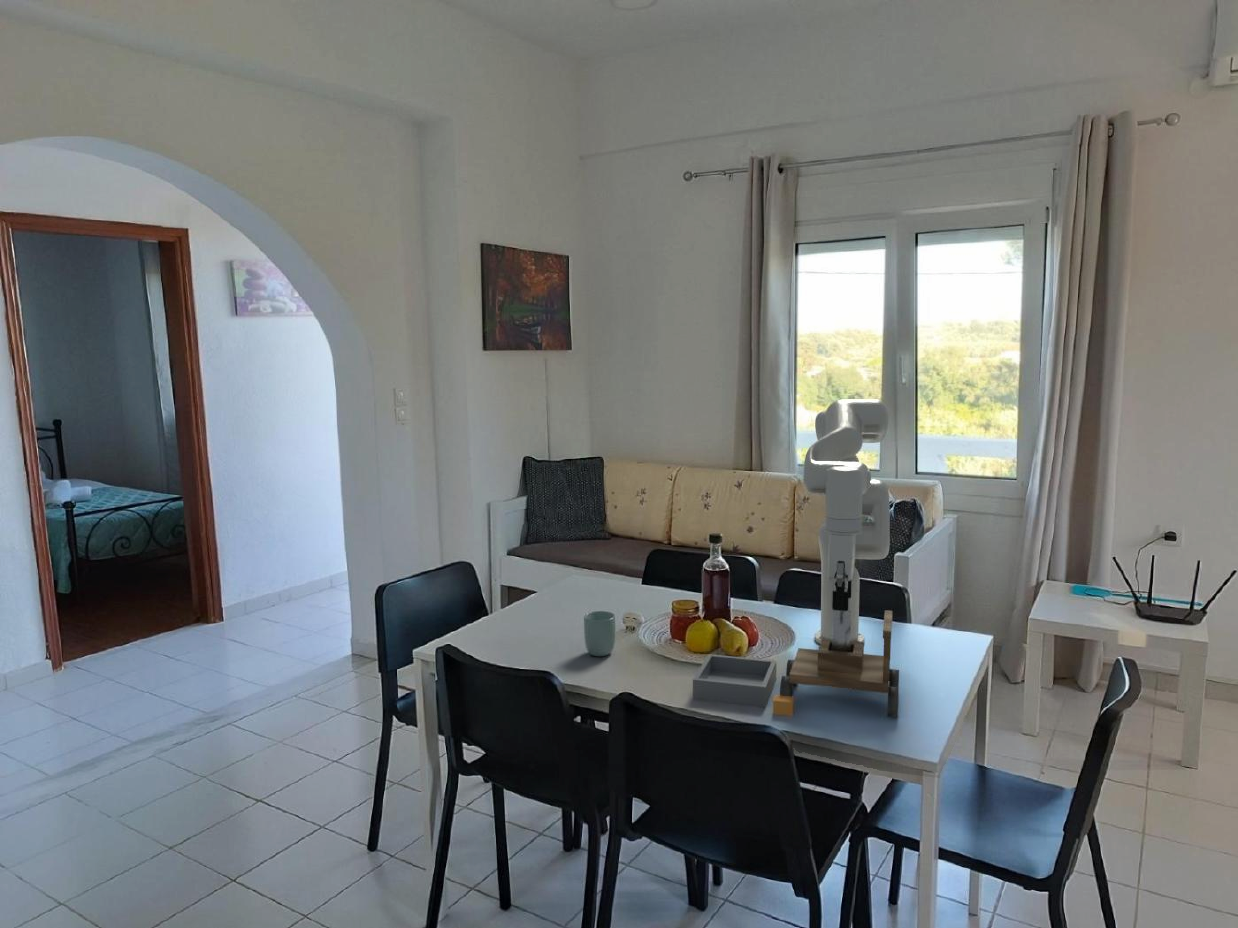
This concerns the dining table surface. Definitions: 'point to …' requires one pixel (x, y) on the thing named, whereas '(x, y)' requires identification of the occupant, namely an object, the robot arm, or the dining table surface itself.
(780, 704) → the orange block
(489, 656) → the dining table surface
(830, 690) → the dining table surface
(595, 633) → the cup
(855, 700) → the dining table surface
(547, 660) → the dining table surface
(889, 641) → the trolley
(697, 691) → the tray
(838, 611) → the pin
